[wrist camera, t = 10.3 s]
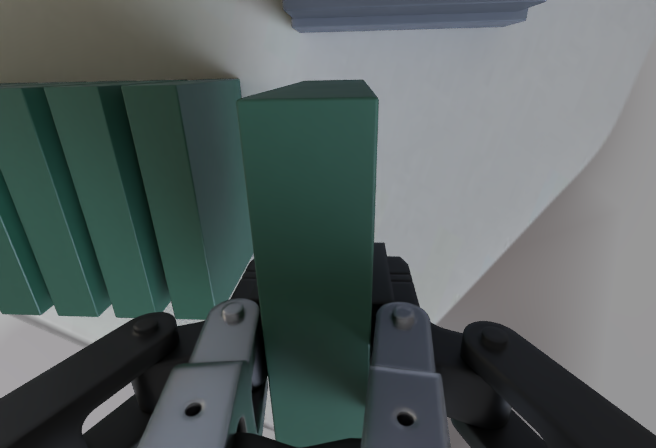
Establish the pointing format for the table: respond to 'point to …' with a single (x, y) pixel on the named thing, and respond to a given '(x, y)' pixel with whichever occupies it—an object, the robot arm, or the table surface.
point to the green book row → (121, 197)
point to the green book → (313, 249)
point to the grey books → (403, 14)
